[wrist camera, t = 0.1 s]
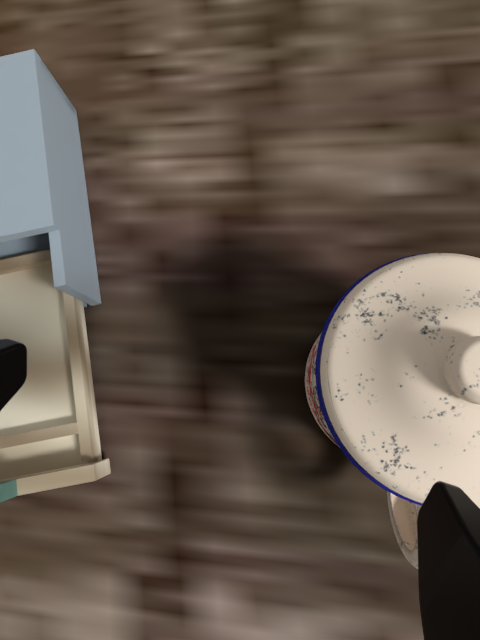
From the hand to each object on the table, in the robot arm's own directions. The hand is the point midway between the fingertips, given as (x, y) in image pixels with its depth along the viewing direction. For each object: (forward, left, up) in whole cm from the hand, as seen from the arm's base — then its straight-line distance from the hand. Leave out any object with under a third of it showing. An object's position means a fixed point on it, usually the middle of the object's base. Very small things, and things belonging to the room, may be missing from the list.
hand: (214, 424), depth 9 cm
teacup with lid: (-2, -7, -15) cm, 17 cm away
